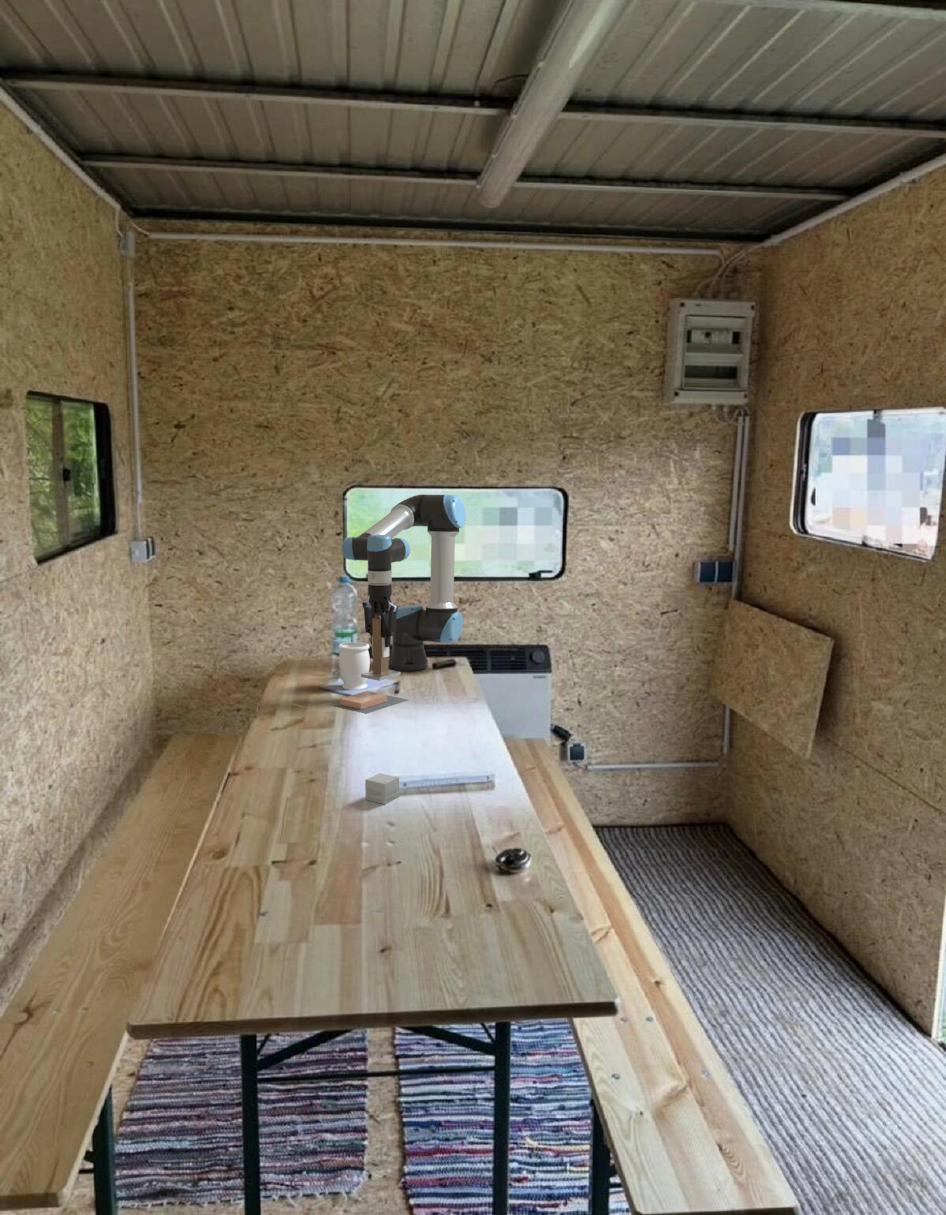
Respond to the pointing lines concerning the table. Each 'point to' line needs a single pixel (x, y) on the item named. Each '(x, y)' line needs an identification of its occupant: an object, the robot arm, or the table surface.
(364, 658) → the jar
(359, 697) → the terracotta tile
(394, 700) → the slate rubber mat
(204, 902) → the table surface
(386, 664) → the tall wooden post
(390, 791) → the small box
